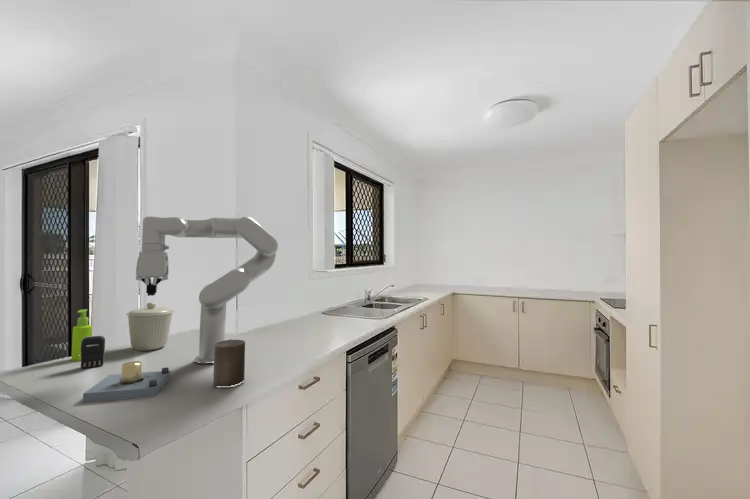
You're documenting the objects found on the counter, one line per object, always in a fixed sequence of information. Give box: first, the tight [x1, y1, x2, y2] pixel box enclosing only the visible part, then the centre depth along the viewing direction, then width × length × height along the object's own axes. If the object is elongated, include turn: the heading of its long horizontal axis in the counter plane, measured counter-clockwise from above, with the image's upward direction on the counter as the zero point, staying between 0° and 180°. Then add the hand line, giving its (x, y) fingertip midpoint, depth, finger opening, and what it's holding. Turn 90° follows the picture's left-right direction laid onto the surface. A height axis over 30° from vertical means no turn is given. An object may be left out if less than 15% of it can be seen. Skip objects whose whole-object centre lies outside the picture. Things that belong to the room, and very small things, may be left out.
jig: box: [82, 366, 172, 403], centre depth 106 cm, size 18×16×4 cm
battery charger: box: [80, 335, 106, 369], centre depth 125 cm, size 7×4×11 cm, turn 126°
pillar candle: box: [212, 338, 246, 386], centre depth 112 cm, size 10×10×15 cm
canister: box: [125, 301, 175, 352], centre depth 152 cm, size 18×18×21 cm
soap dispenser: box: [70, 308, 93, 362], centre depth 134 cm, size 6×7×20 cm
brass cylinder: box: [121, 360, 143, 385], centre depth 106 cm, size 5×5×8 cm
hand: (151, 295), depth 129 cm, fingers closed
